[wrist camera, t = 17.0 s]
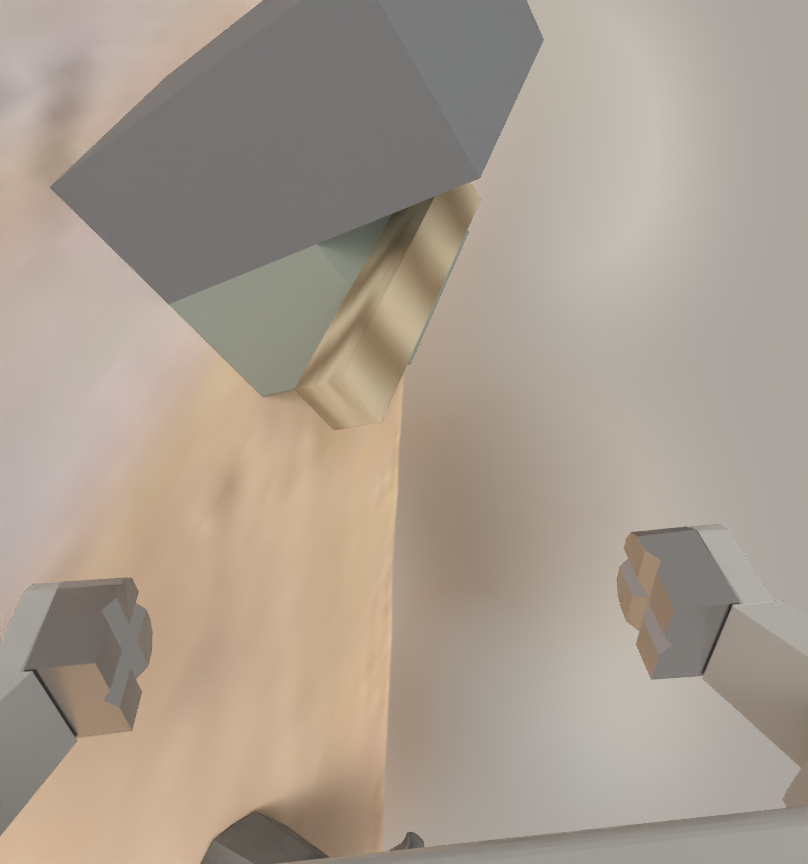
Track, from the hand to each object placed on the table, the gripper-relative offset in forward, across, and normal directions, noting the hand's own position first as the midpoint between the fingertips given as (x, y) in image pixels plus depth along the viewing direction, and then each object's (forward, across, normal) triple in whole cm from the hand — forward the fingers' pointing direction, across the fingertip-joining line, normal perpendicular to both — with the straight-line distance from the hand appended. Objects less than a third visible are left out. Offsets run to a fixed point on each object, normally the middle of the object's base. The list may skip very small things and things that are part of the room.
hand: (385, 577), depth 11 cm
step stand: (+43, -11, -10) cm, 46 cm away
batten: (+31, +1, -10) cm, 33 cm away
